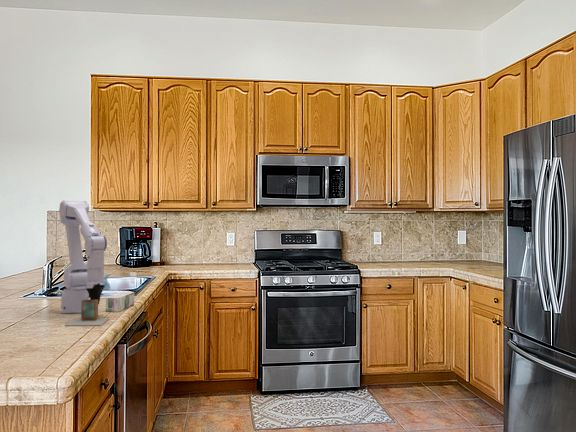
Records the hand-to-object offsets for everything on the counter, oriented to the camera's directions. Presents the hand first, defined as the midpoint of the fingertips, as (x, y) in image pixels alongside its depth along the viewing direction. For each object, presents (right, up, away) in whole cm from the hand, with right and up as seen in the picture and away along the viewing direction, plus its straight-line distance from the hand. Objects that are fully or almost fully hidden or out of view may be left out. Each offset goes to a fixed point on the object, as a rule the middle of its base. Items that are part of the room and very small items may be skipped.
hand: (95, 305), depth 176 cm
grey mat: (+1, -5, -8) cm, 10 cm away
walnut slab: (0, -4, -5) cm, 7 cm away
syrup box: (+4, -2, +26) cm, 26 cm away
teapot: (-23, -5, +51) cm, 56 cm away
